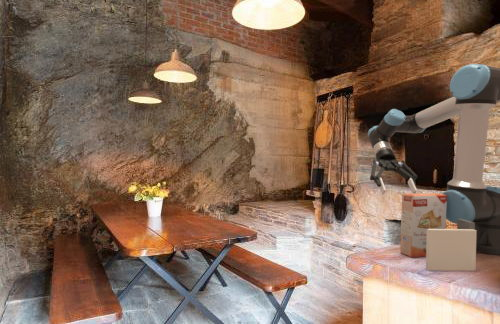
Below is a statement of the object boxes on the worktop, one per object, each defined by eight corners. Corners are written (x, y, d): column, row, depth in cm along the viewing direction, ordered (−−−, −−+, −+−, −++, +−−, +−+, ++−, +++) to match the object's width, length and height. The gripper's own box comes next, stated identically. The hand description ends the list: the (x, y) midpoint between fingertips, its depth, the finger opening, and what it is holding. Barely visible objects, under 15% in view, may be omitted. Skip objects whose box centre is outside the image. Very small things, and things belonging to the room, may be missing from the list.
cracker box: (412, 258, 112) (413, 195, 112) (399, 253, 118) (400, 193, 117) (446, 255, 116) (447, 194, 115) (432, 250, 122) (433, 192, 121)
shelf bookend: (461, 262, 108) (462, 218, 108) (477, 270, 100) (478, 223, 100) (415, 262, 108) (416, 218, 107) (428, 270, 100) (429, 223, 100)
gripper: (408, 160, 153) (425, 198, 138) (355, 159, 152) (366, 198, 137) (414, 148, 147) (433, 186, 132) (359, 147, 147) (372, 186, 132)
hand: (399, 192), depth 135 cm, fingers open, 12 cm apart
